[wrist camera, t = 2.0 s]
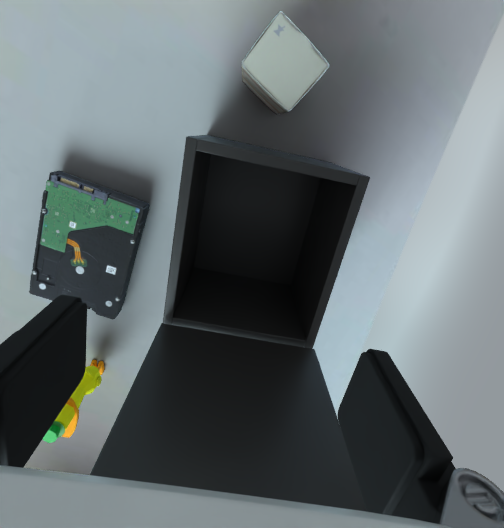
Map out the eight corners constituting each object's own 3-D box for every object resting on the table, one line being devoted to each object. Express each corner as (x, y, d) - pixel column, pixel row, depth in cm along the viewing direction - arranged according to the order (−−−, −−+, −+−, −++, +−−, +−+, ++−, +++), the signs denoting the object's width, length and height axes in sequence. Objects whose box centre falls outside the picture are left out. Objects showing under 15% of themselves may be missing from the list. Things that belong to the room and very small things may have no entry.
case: (206, 134, 34) (186, 136, 23) (331, 162, 35) (370, 177, 24) (187, 269, 40) (162, 323, 29) (294, 289, 41) (312, 349, 30)
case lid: (60, 534, 13) (60, 548, 13) (389, 572, 14) (382, 583, 14) (161, 322, 28) (160, 330, 28) (314, 349, 29) (312, 356, 29)
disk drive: (124, 309, 42) (151, 201, 37) (116, 321, 40) (144, 207, 34) (41, 284, 41) (57, 168, 35) (27, 294, 38) (42, 171, 33)
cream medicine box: (240, 80, 32) (236, 60, 23) (270, 42, 31) (279, 3, 22) (278, 119, 34) (289, 114, 24) (308, 83, 33) (332, 64, 23)
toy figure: (108, 388, 47) (64, 467, 36) (83, 383, 46) (30, 462, 35) (112, 350, 44) (66, 423, 33) (85, 345, 44) (29, 417, 33)
